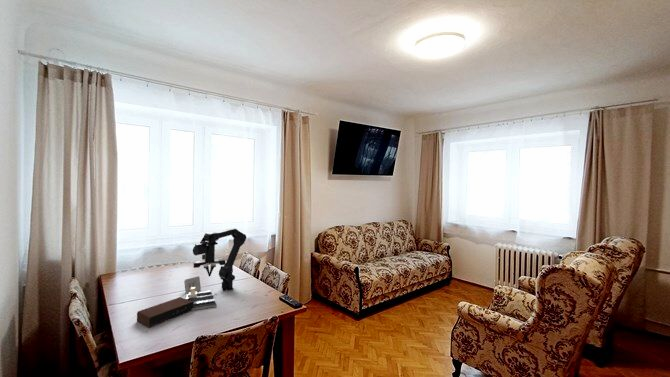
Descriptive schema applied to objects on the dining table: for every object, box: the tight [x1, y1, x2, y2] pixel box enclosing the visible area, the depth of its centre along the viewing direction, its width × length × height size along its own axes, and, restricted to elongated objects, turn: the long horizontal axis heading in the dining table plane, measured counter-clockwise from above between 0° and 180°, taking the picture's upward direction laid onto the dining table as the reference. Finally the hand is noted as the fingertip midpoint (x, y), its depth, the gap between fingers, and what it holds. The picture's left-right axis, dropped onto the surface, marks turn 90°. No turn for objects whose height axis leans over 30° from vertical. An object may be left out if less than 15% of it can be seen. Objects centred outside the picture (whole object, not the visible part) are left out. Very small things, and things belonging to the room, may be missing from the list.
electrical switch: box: [184, 275, 202, 294], centre depth 190 cm, size 9×5×9 cm, turn 141°
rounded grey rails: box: [191, 302, 217, 312], centre depth 165 cm, size 17×4×1 cm, turn 117°
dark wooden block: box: [136, 296, 193, 329], centre depth 154 cm, size 24×12×6 cm, turn 150°
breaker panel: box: [184, 289, 216, 306], centre depth 175 cm, size 16×18×4 cm
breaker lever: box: [188, 287, 198, 298], centre depth 174 cm, size 4×4×6 cm
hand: (209, 276), depth 183 cm, fingers closed
